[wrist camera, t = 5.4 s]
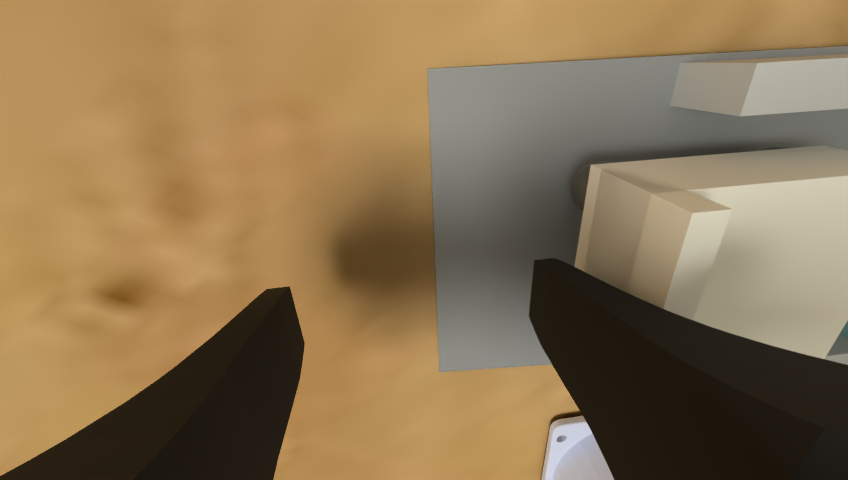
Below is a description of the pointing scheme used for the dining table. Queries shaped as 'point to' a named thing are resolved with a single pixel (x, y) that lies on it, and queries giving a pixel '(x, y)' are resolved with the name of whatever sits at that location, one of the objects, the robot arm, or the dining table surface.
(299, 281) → the dining table surface
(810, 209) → the cream notched block
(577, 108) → the dock
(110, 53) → the dining table surface
